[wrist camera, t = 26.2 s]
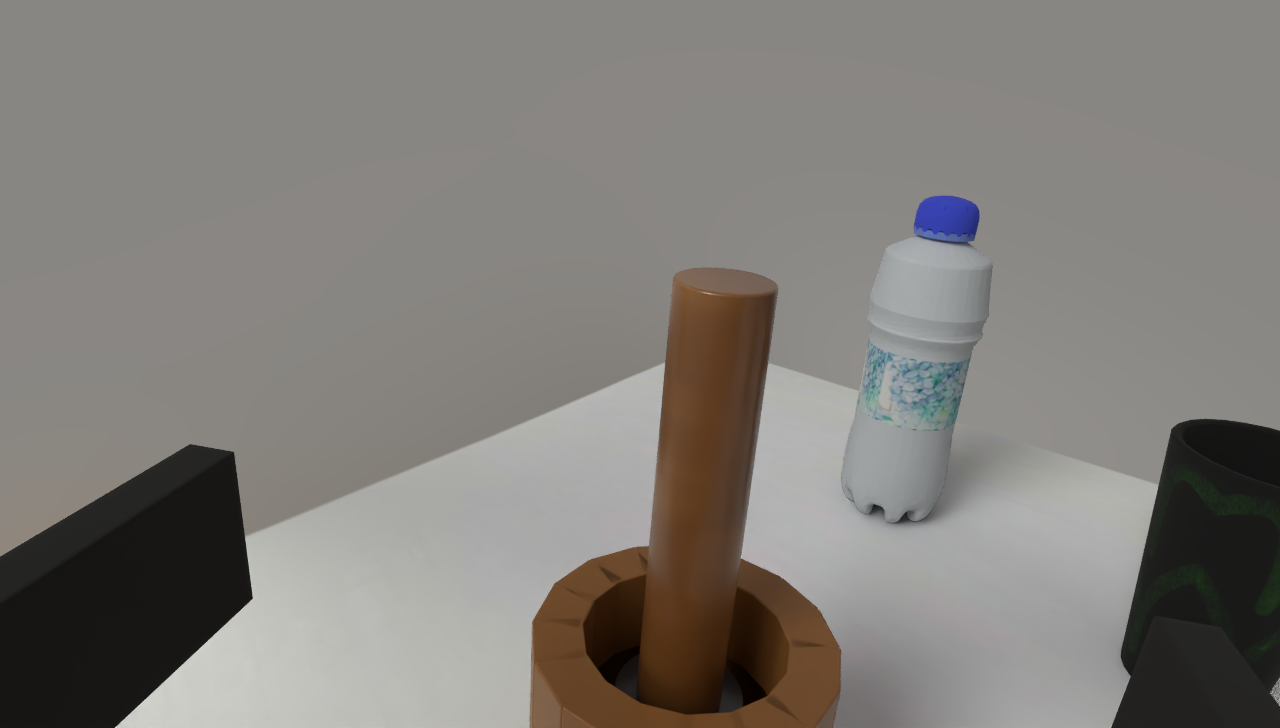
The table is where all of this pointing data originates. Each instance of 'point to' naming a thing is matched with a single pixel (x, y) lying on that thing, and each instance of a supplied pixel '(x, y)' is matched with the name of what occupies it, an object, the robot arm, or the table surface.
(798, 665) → the wooden hollow tube
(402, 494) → the table surface
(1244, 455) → the cup
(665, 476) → the wooden handled pestle
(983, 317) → the bottle
